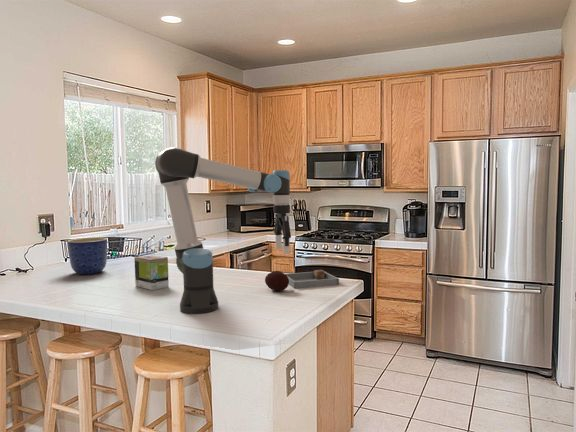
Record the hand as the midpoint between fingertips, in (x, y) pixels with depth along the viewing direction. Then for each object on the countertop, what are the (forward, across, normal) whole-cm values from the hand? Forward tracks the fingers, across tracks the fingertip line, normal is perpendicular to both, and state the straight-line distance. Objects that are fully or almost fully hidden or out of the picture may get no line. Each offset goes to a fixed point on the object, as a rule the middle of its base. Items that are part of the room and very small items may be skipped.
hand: (282, 251), depth 213 cm
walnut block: (+18, +16, -23) cm, 33 cm away
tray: (+18, +10, -16) cm, 27 cm away
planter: (+19, +79, +93) cm, 123 cm away
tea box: (+19, +30, +58) cm, 68 cm away
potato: (+18, +1, +2) cm, 19 cm away
